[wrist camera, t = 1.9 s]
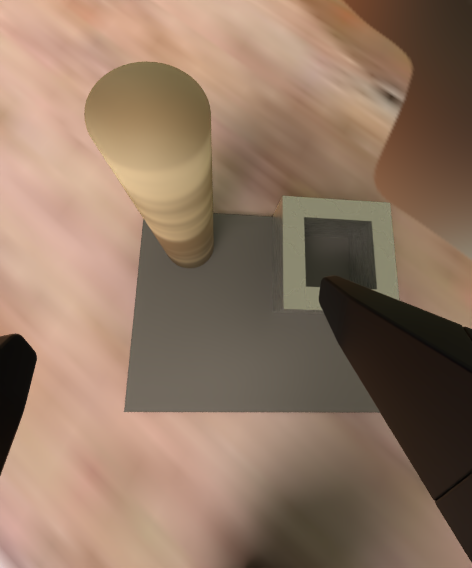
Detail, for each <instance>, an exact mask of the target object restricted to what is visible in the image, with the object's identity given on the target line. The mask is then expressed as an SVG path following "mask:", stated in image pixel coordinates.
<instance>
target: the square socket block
mask: <svg viewBox="0 0 472 568" xmlns="http://www.w3.org/2000/svg"><path fill="white" fill-rule="evenodd" d="M305 236H321V237H339V238H348V254H349V271H350V281H351V282H354V283H357V284H359V285H362V286H364V287H367V288H369V289H372V290H374V291H377V292H379V293H382V294H384V295H387V296H389V297H392V298H394V299H397V300H399V291H398V280H397V270H396V259H395V249H394V238H393V228H392V217H391V207H390V203H386V202H371V201H355V200H340V199H325V198H310V197H295V196H282V198H281V200H280V202H279V204H278V206H277V208H276V210H275V212H274V214H273V216H272V312H277V313H309V314H324V313H323V310H322V308H321V306H320V304H319V290H320V287H306V271H305Z"/></svg>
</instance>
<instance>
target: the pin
mask: <svg viewBox="0 0 472 568" xmlns="http://www.w3.org/2000/svg"><path fill="white" fill-rule="evenodd" d="M84 115H85V123H86V127H87V130H88V132H89V135H90V137H91V138H92V140H93V142H94V143H95V145H96V146H97V148H98V149H99V151H100V152H101V154H102V155H103V157H104V158H105V160H106V162H107V163H108V165H109V166H110V168H111V169H112V171H113V172H114V174H115V175H116V177H117V178H118V180H119V181H120V183H121V185H122V186H123V188H124V189H125V191H126V192H127V194H128V195H129V197H130V198H131V200H132V201H133V203H134V204H135V206H136V208H137V209H138V211H139V212H140V214H141V215H142V217H143V218H144V220H145V221H146V223H147V224H148V226H149V227H150V229H151V231H152V232H153V234H154V235H155V237H156V238H157V240H158V241H159V243H160V244H161V246H162V247H163V249H164V250H165V252H166V254H167V255H168V257H169V258H170V259H171V261H172V262H173V263H175V264H176V265H178V266H180V267H183V268H196V267H199V266H201V265H203V264H204V263H206V262H207V261H208V260H209V258H210V257H211V255H212V253H213V249H214V234H213V191H212V149H211V111H210V105H209V102H208V99H207V97H206V95H205V93H204V91H203V90H202V88H201V87H200V85H199V84H198V83H197V82H196V81H195V80H194V79H193V78H192V77H190V76H189V75H188V74H186V73H185V72H183V71H181V70H179V69H177V68H175V67H173V66H170V65H166V64H163V63H157V62H136V63H130V64H127V65H123V66H121V67H118V68H116V69H114V70H112V71H110V72H109V73H107V74H106V75H104V76H103V77H102V78H101V79H100V80H99V81H98V82H97V83H96V84H95V85H94V87H93V88H92V90H91V92H90V93H89V95H88V98H87V101H86V105H85V113H84Z"/></svg>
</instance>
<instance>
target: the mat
mask: <svg viewBox="0 0 472 568" xmlns="http://www.w3.org/2000/svg"><path fill="white" fill-rule="evenodd" d="M213 234H214V249H213V253H212V255H211V257H210V258H209V260H208V261H207V262H206V263H204V264H203V265H201V266H199V267H196V268H183V267H180V266H178V265H176V264H175V263H173V262H172V261H171V259H170V258H169V257H168V255H167V254H166V252H165V250H164V249H163V247H162V246H161V244H160V243H159V241H158V240H157V238H156V237H155V235H154V234H153V232H152V231H151V229H150V227H149V226H148V224H147V223H146V221H145V220H144V218H143V228H142V238H141V248H140V258H139V268H138V278H137V288H136V299H135V309H134V319H133V329H132V339H131V349H130V359H129V369H128V379H127V389H126V399H125V409H124V412H380V411H379V410H378V408H377V406H376V405H375V403H374V402H373V400H372V398H371V397H370V395H369V393H368V392H367V390H366V388H365V387H364V385H363V384H362V382H361V380H360V379H359V377H358V375H357V374H356V372H355V371H354V369H353V367H352V366H351V364H350V362H349V361H348V359H347V357H346V356H345V354H344V353H343V351H342V349H341V347H340V346H339V344H338V342H337V340H336V338H335V336H334V334H333V332H332V330H331V327H330V325H329V323H328V321H327V319H326V317H325V315H324V314H309V313H277V312H272V217H269V216H252V215H235V214H218V213H213ZM305 271H306V287H320V284H321V280H322V278H323V277H326V276H332V275H336V276H339V277H341V278H344V279H346V280H349V281H350V271H349V254H348V238H339V237H321V236H305Z"/></svg>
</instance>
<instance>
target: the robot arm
mask: <svg viewBox="0 0 472 568" xmlns="http://www.w3.org/2000/svg"><path fill="white" fill-rule="evenodd" d="M319 304H320V306H321V308H322V310H323V313H324V315H325V317H326V319H327V321H328V323H329V325H330V327H331V330H332V332H333V334H334V336H335V338H336V340H337V342H338V344H339V346H340V347H341V349H342V351H343V353H344V354H345V356H346V357H347V359H348V361H349V362H350V364H351V366H352V367H353V369H354V371H355V372H356V374H357V375H358V377H359V379H360V380H361V382H362V384H363V385H364V387H365V388H366V390H367V392H368V393H369V395H370V397H371V398H372V400H373V402H374V403H375V405H376V406H377V408H378V410H379V411H380V413H381V415H382V416H383V418H384V420H385V421H386V423H387V424H388V426H389V428H390V429H391V431H392V433H393V434H394V436H395V438H396V439H397V441H398V442H399V444H400V446H401V447H402V449H403V451H404V452H405V454H406V456H407V457H408V459H409V460H410V462H411V464H412V465H413V467H414V469H415V470H416V472H417V473H418V475H419V477H420V478H421V480H422V482H423V483H424V485H425V487H426V488H427V490H428V491H429V493H430V495H431V496H432V498H433V499H434V500H435V503H436V505H437V507H438V508H439V510H440V512H441V513H442V515H443V516H444V518H445V520H446V521H447V523H448V525H449V526H450V528H451V529H452V531H453V533H454V534H455V536H456V538H457V539H458V541H459V543H460V544H461V546H462V547H463V549H464V551H465V552H466V554H467V556H468V557H469V559H470V561H471V562H472V329H470V328H468V327H462V325H460V324H457V323H455V322H452V321H450V320H447V319H445V318H442V317H440V316H437V315H435V314H432V313H430V312H427V311H425V310H422V309H420V308H417V307H415V306H412V305H409V304H407V303H404V302H402V301H399V300H397V299H394V298H392V297H389V296H387V295H384V294H382V293H379V292H377V291H374V290H372V289H369V288H367V287H364V286H362V285H359V284H357V283H354V282H351V281H349V280H346V279H344V278H341V277H339V276H336V275H332V276H326V277H323V278H322V280H321V284H320V290H319ZM36 361H37V356H36V352H35V351H34V350H33V348H32V347H31V346H30V345H29V344H28V343H27V341H26V340H25V339H24V338H23V337H22V336H21V335H19V334H10V335H4V336H0V475H1V472H2V470H3V467H4V464H5V462H6V459H7V456H8V453H9V451H10V448H11V445H12V442H13V440H14V437H15V434H16V432H17V429H18V426H19V423H20V421H21V418H22V415H23V412H24V408H25V405H26V401H27V397H28V393H29V389H30V385H31V381H32V377H33V373H34V369H35V365H36Z"/></svg>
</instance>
